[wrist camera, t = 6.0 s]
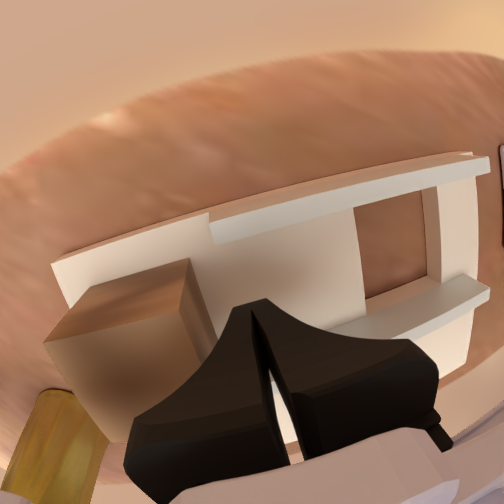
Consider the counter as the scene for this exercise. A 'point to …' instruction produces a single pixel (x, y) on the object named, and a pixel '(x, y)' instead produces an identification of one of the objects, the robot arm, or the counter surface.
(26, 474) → the vase
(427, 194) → the board
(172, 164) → the counter surface
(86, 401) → the walnut block
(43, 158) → the counter surface
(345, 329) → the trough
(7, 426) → the counter surface
